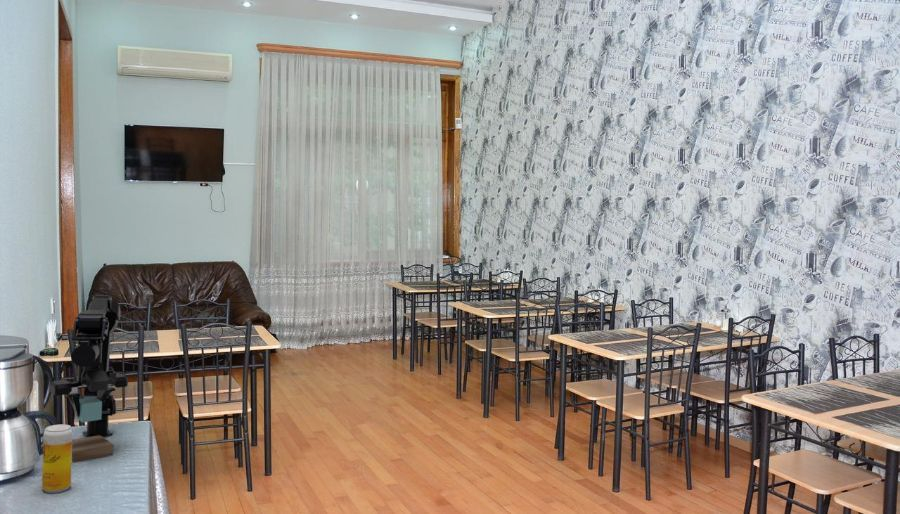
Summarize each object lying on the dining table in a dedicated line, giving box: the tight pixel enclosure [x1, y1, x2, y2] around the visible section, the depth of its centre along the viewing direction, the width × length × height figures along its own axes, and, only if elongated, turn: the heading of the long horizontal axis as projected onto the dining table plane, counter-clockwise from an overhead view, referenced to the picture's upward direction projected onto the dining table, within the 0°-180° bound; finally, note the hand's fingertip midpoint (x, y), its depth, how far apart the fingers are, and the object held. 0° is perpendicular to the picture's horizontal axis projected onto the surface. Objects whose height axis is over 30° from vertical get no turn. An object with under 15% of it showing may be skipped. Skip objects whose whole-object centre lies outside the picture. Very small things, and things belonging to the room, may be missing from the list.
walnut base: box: [72, 435, 114, 463], centre depth 195 cm, size 10×10×3 cm
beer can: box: [41, 424, 73, 494], centre depth 170 cm, size 6×6×15 cm
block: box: [74, 397, 102, 423], centre depth 195 cm, size 5×5×5 cm
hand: (88, 414), depth 195 cm, fingers closed on block, 5 cm apart
